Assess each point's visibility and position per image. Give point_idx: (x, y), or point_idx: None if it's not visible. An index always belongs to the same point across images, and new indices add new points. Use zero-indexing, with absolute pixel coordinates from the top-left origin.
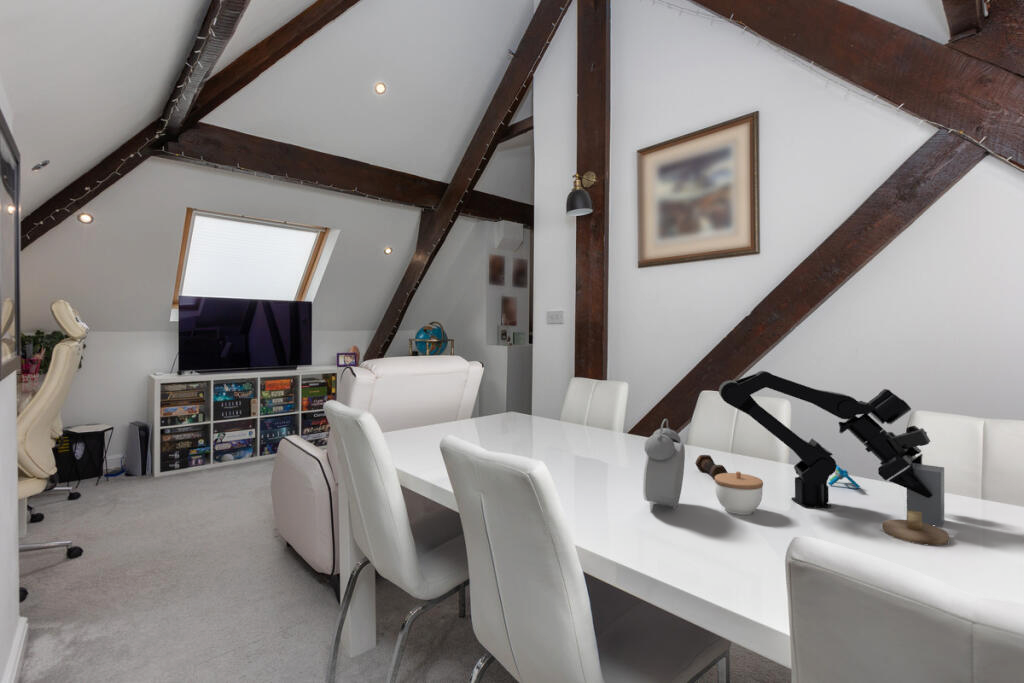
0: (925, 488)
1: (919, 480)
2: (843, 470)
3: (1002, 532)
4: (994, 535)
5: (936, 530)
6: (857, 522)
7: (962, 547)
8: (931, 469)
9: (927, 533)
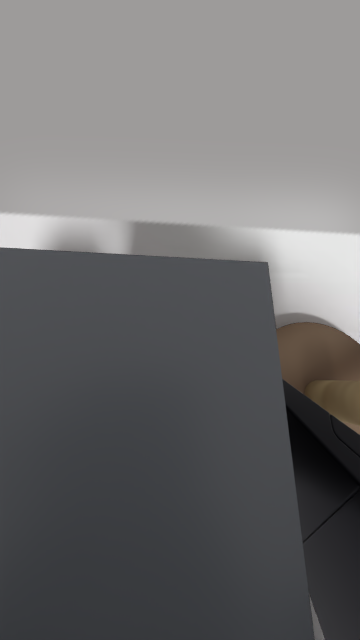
0: (285, 384)
1: (349, 427)
2: None
3: (131, 239)
4: (168, 252)
5: (287, 349)
6: None
7: (310, 302)
8: (177, 351)
9: (332, 365)
